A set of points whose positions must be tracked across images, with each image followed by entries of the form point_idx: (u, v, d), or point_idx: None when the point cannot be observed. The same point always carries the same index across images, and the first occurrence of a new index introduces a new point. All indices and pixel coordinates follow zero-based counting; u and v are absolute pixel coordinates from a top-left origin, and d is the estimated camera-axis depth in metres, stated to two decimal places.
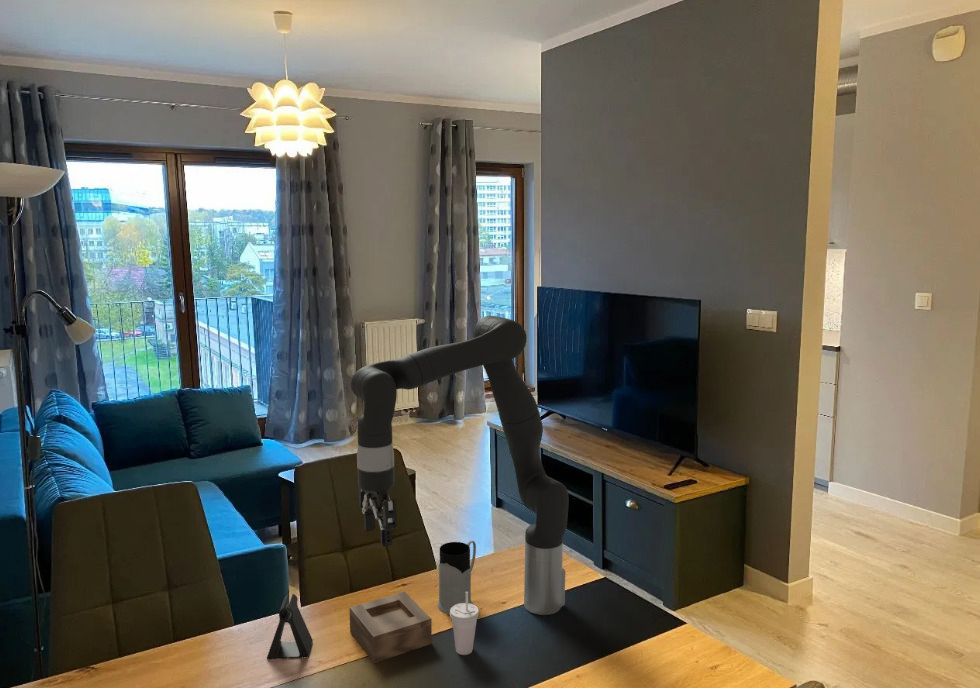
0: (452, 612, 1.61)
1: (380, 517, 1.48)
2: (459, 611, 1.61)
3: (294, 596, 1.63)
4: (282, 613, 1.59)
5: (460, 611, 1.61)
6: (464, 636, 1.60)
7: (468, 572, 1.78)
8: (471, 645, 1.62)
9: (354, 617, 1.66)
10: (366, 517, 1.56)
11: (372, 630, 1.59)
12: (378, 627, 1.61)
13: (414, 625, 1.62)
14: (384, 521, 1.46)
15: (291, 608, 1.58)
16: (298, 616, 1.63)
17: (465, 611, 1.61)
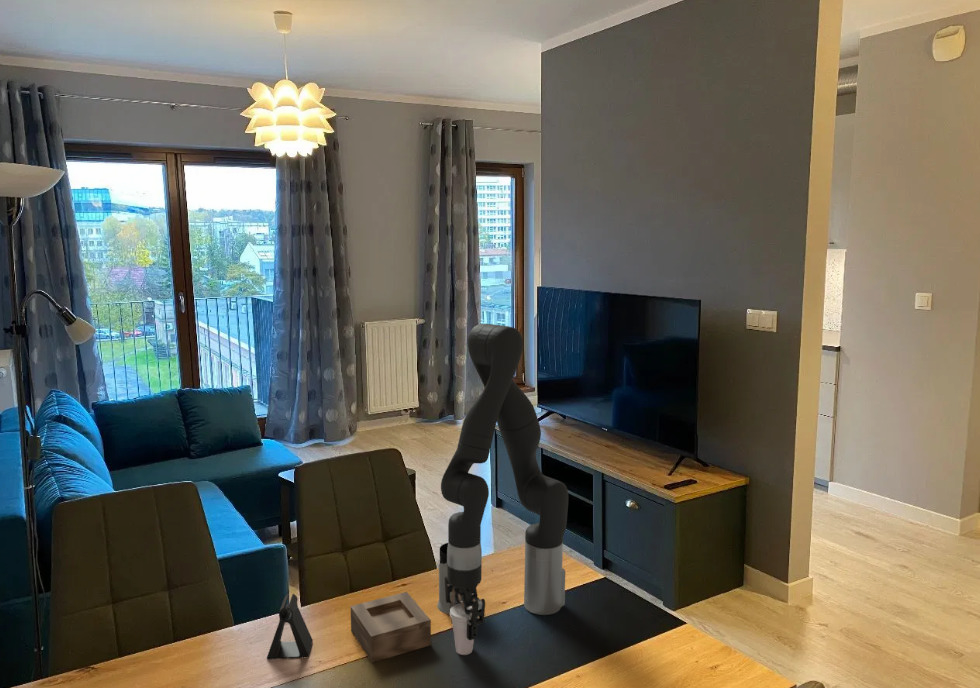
0: (452, 612, 1.61)
1: (468, 613, 1.58)
2: (459, 611, 1.61)
3: (294, 596, 1.63)
4: (282, 613, 1.59)
5: (460, 611, 1.61)
6: (464, 636, 1.60)
7: None
8: (471, 645, 1.62)
9: (355, 616, 1.67)
10: None
11: (371, 630, 1.60)
12: (377, 627, 1.61)
13: (412, 626, 1.62)
14: (472, 618, 1.56)
15: (291, 608, 1.58)
16: (299, 616, 1.63)
17: None
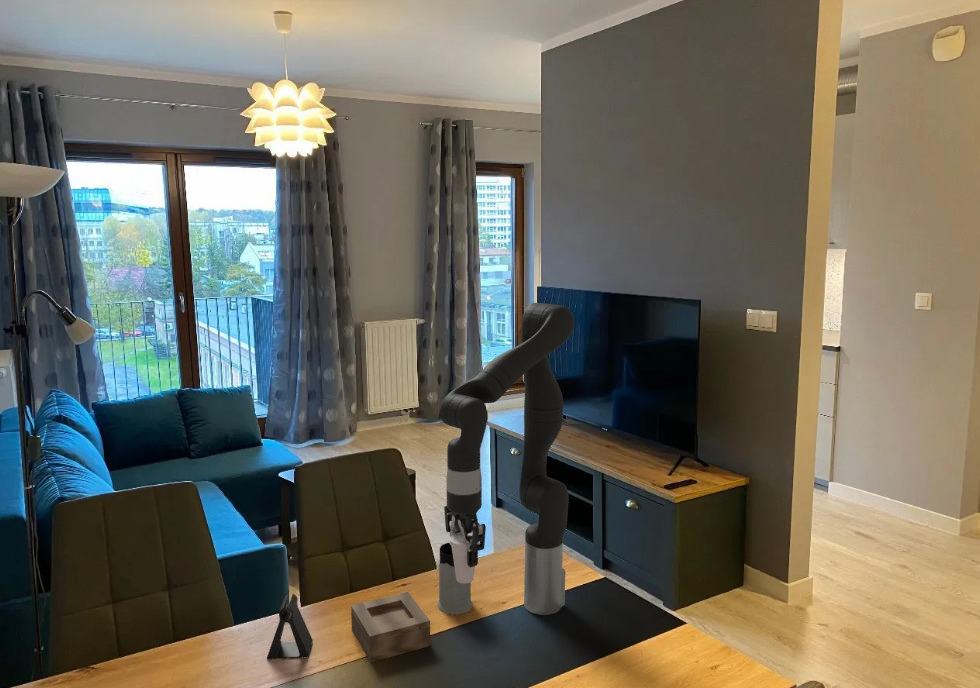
0: (452, 540, 1.58)
1: (468, 539, 1.55)
2: (459, 539, 1.58)
3: (294, 596, 1.63)
4: (282, 613, 1.59)
5: (460, 539, 1.58)
6: (464, 564, 1.57)
7: None
8: (472, 573, 1.59)
9: (355, 616, 1.67)
10: None
11: (370, 630, 1.60)
12: (376, 627, 1.61)
13: (412, 626, 1.62)
14: (473, 544, 1.53)
15: (291, 608, 1.58)
16: (298, 616, 1.63)
17: None
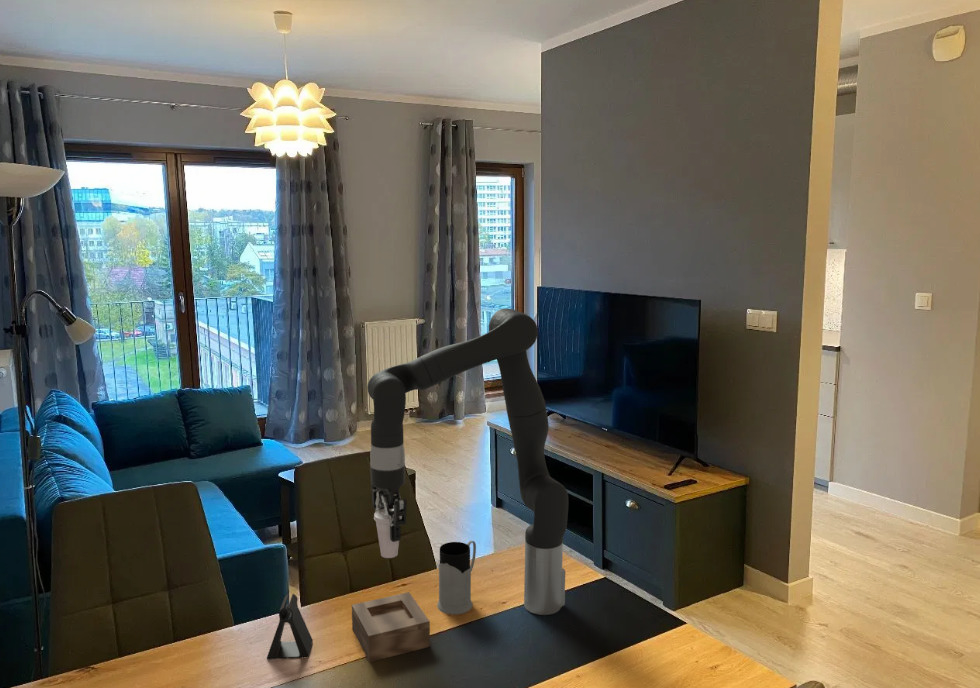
0: (376, 515, 1.61)
1: (390, 514, 1.59)
2: (383, 514, 1.62)
3: (294, 596, 1.63)
4: (282, 613, 1.59)
5: (384, 514, 1.62)
6: (388, 539, 1.61)
7: (468, 572, 1.78)
8: (395, 548, 1.63)
9: (355, 615, 1.67)
10: None
11: (369, 629, 1.60)
12: (375, 626, 1.61)
13: (411, 627, 1.62)
14: (394, 518, 1.57)
15: (291, 608, 1.58)
16: (299, 616, 1.63)
17: None
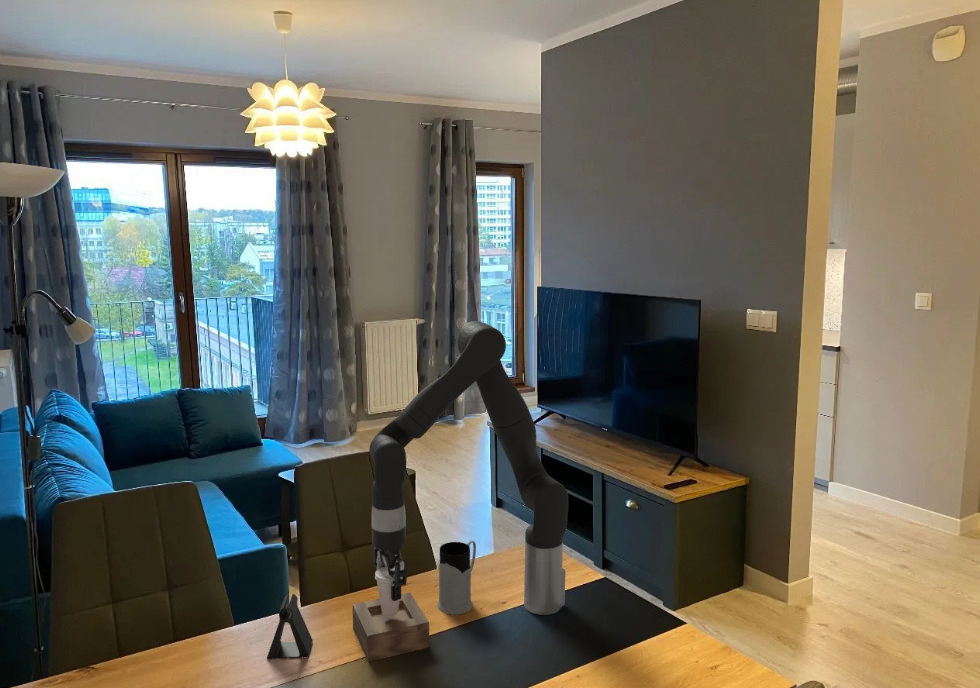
0: (377, 574, 1.64)
1: (391, 574, 1.61)
2: (383, 573, 1.64)
3: (294, 596, 1.63)
4: (282, 613, 1.59)
5: (385, 573, 1.64)
6: (388, 598, 1.63)
7: (468, 572, 1.78)
8: (396, 607, 1.65)
9: (355, 614, 1.67)
10: None
11: (368, 629, 1.60)
12: (374, 626, 1.61)
13: (410, 627, 1.61)
14: (395, 579, 1.59)
15: (291, 608, 1.58)
16: (298, 616, 1.63)
17: None
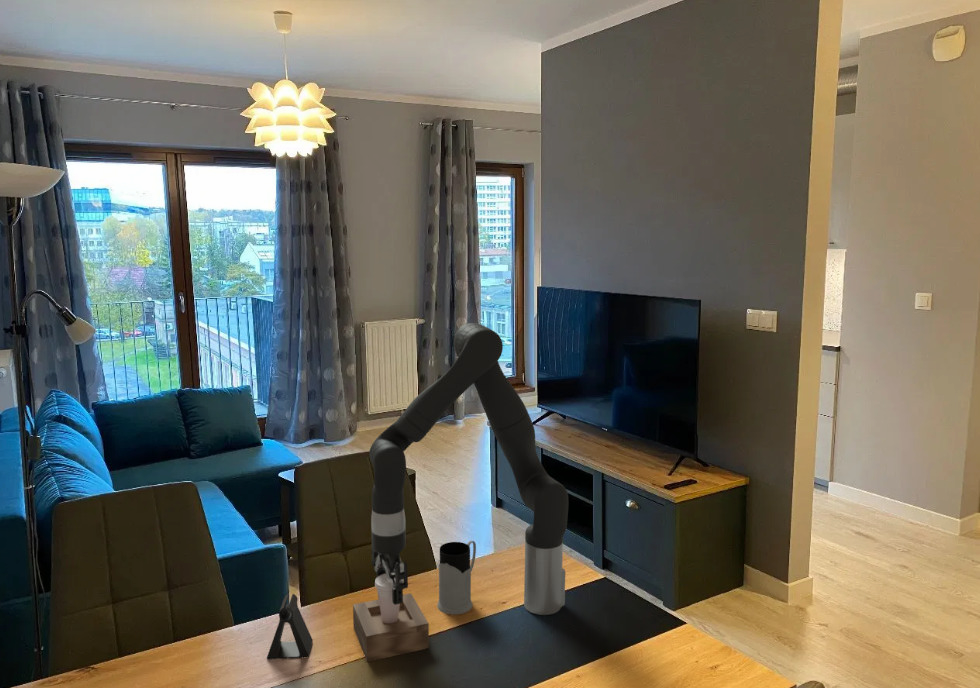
0: (377, 581, 1.64)
1: (392, 577, 1.61)
2: (383, 581, 1.65)
3: (294, 596, 1.63)
4: (282, 613, 1.59)
5: (385, 581, 1.65)
6: (388, 605, 1.64)
7: (468, 572, 1.78)
8: (396, 614, 1.66)
9: (356, 615, 1.67)
10: (378, 575, 1.68)
11: (367, 629, 1.60)
12: (374, 627, 1.61)
13: (409, 628, 1.61)
14: (396, 582, 1.59)
15: (291, 608, 1.58)
16: (298, 616, 1.63)
17: (389, 580, 1.64)
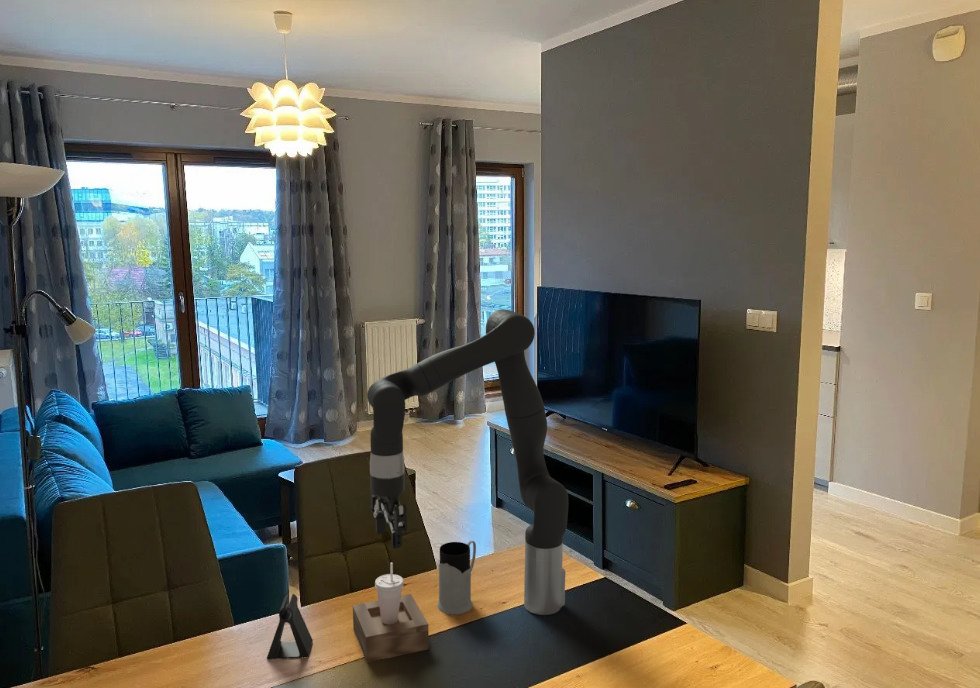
0: (377, 582, 1.64)
1: (391, 521, 1.58)
2: (384, 581, 1.64)
3: (294, 596, 1.63)
4: (282, 613, 1.59)
5: (385, 581, 1.64)
6: (388, 606, 1.63)
7: (468, 572, 1.78)
8: (396, 615, 1.65)
9: (355, 616, 1.67)
10: (377, 521, 1.66)
11: (367, 630, 1.60)
12: (373, 628, 1.61)
13: (409, 629, 1.61)
14: (395, 525, 1.56)
15: (291, 608, 1.58)
16: (298, 616, 1.63)
17: (390, 581, 1.64)
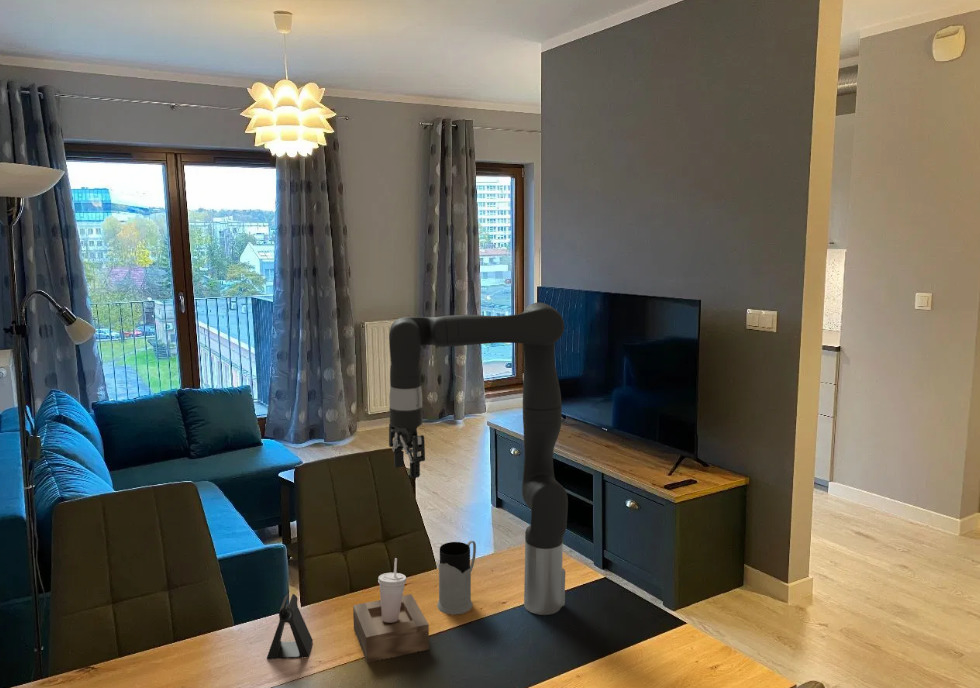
0: (381, 578, 1.65)
1: (410, 451, 1.66)
2: (387, 578, 1.65)
3: (294, 596, 1.63)
4: (282, 613, 1.59)
5: (388, 578, 1.65)
6: (391, 602, 1.64)
7: (468, 572, 1.78)
8: (397, 613, 1.65)
9: (356, 616, 1.67)
10: (396, 454, 1.74)
11: (367, 630, 1.60)
12: (374, 628, 1.61)
13: (409, 629, 1.61)
14: (414, 454, 1.64)
15: (291, 608, 1.58)
16: (298, 616, 1.63)
17: (393, 577, 1.65)
